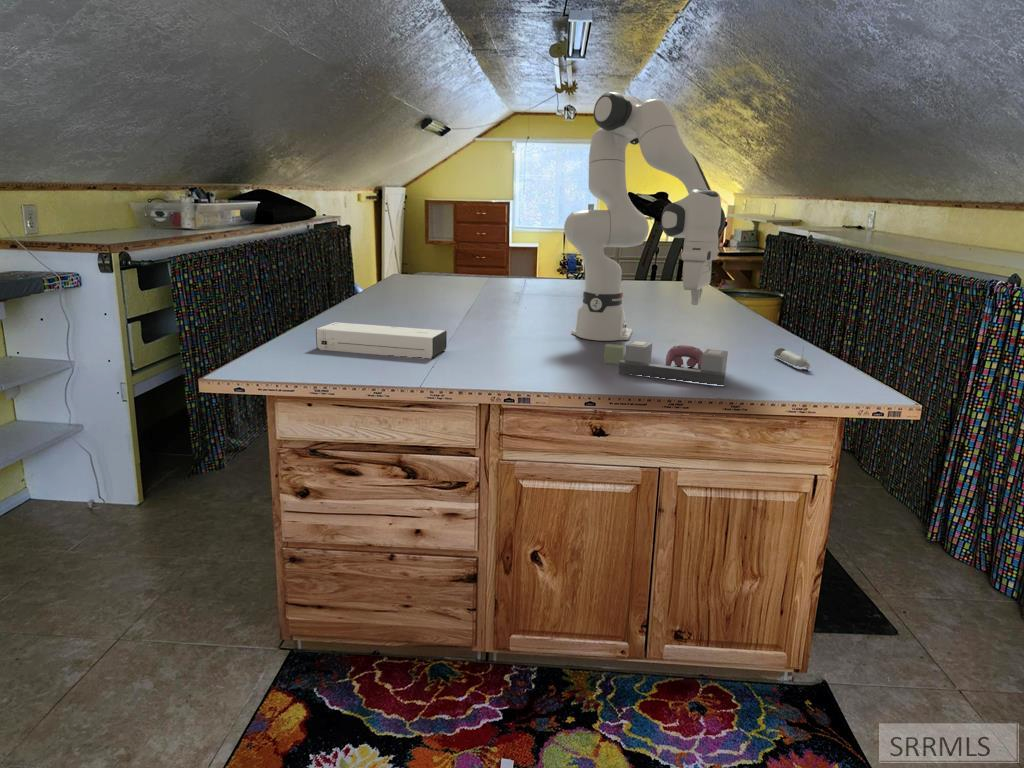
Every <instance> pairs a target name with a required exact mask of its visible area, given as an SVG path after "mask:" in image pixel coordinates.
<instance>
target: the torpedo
mask: <svg viewBox="0 0 1024 768" xmlns="http://www.w3.org/2000/svg"><path fill="white" fill-rule="evenodd" d="M804 349H805V347H802V352H804ZM774 356H775V357H777V358H779V359H781V360H783V361H786V362H788V363H790V364H792V365H795V366H799V367H805V368H807V369H809V370H810V368H812V366H811V364H810V363H809V362H808V360H807V359H806V358H805V357H803V356H804V354H802V356H801V355H798V354H797V353H795V352H793V351H791V350H786V349H785V348H783V347H778V348H777V347H776V349H774V351H773V357H774ZM779 356H780V357H779ZM775 357H774V358H775Z"/></svg>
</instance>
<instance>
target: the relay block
mask: <svg viewBox="0 0 1024 768" xmlns="http://www.w3.org/2000/svg"><path fill="white" fill-rule="evenodd" d="M603 351H604V353H603V363H604V364H612V363H618V362H619V361H620V360H625V351H626V345H625V344H613V343H606V344H605V345H604V349H603Z"/></svg>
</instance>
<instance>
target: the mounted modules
mask: <svg viewBox="0 0 1024 768" xmlns="http://www.w3.org/2000/svg"><path fill="white" fill-rule="evenodd" d="M652 351H653V342H650V341H649V342H648V341H642V340H641V341H639V340H632V341H631V342H629V343H627V344H626V345H625V351H624V360H625V361H633V362H641V363H649V364H652V362H651V361H652ZM728 353H729V351H728V350H719V349H713V348H712V349H710V348H707V349H706V350H705V351H704V352H703V354H702V361H701V370H705V371H713V372H721V373H726V374H727V364H728V363H727V362H728V361H727V360H728Z"/></svg>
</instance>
